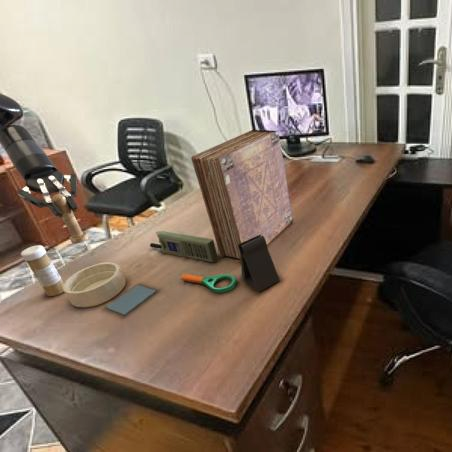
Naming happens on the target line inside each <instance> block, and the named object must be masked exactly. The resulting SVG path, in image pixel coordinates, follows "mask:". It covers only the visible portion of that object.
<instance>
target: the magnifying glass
mask: <svg viewBox="0 0 452 452" xmlns="http://www.w3.org/2000/svg"><path fill="white" fill-rule="evenodd" d="M227 279H228V280H230V281H231V282H230V284H228V285H227V286H224V287H220V288H218V287H215V286H214V285H215V284H216V283H217V282H219V281H222V280H227ZM181 280H182V281H185V282H190V283H196V284H201V285H204V286H206V288H208V289H209V290H210V291H212V292H213V293H215V294H223V293H227V292H230V291H232V290H233V289H235V287H236V286H237V281H236V280H237V279H236V277H235V276H234V275H232V274H228V273H224V274H216V275H210V276H201V275H196V274H189V273H184V274H183V275H182V276H181Z"/></svg>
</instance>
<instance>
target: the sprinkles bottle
mask: <svg viewBox="0 0 452 452" xmlns="http://www.w3.org/2000/svg"><path fill="white" fill-rule="evenodd" d="M44 247H45V246H43V245H40V244H37V245H33V246H30V247H27V248H25V249H24V250H22V251H21V252H20V256H21V257H22V259H23V261H25V262H26V264H27V265H28V267H29V268H30V270H31V271H32V273H33V274H34V276H35V278H36V280H37V282H38V283H39V285H40V286H41V287H42V288H43V290H44V292H45V293H46V295H47V296H48V297H55V296H58V295H61V294H62V293H63V292H64V290H63V285H64V283H65V281H63V279H62V277H61V275H60V274H59V272H58V270H57V268H56V267H55V265H54V264H53V262H52V260H51V259H50V257H49V256H48V254H47V250H46V249H45V248H44Z"/></svg>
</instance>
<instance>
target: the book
mask: <svg viewBox="0 0 452 452" xmlns="http://www.w3.org/2000/svg"><path fill="white" fill-rule="evenodd" d="M190 159H191V162H192V166H193V169H194V173H195V176H196V179H197V183H198V186H199V189H200V193H201V196H202V199H203V202H204V207H205V209H206V213H207V215H208V219H209V223H210V226H211V228H212V232H213V236H214V239H215V243H216V246H217V250H218V252H219V256H220V258H224V257H225V256H226V257H230V258H235V259H238V260H241V258H240V251H239V248H238V244H240V243H243V242H245V241H247V240H249V239H251V238H253V237H256V236H258V235H260V234H261V236H264V238H265V240H266V245H267V246H268V245H269V243H271V241H273V240H274V239H275V238H276V237H278V236H279V234H281V232H283V231H284V230H285V229H286V228H287V227H288V226H289V225H290V224H292V223H293V222H294V216H293V210H292V204H291V198H290V192H289V188H288V182H287V174H286V169H285V163H284V162H285V161H284V157H283V152H282V145H281V139H280V134H279V130H264V129H251V130H249V131H247V132H244V133H242V134H240V135H237V136H235V137H233V138H230V139H228V140H226V141H223V142H221V143H219V144H217V145H214V146H212V147H209V148H208V149H204V151H200V152H199V153H196V154H193V155H192V156H191V158H190ZM261 236H260V237H261Z"/></svg>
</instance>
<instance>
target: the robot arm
mask: <svg viewBox="0 0 452 452" xmlns="http://www.w3.org/2000/svg"><path fill="white" fill-rule="evenodd" d="M24 114H25V112H24V109H23V107H22V105H21V104H20V103H19V102H18V101H17V100H15V99H13V98H12V97H10V96H8V95H6V94H4V93H1V92H0V145H1V147H2V148H3V150H4V151H5V153H6V154H7V156H8V159H9V160H10V162H11V164H12V166H13V167H14V168H15V169H16V171H17V172H18V173H19V175H20V176H21V178H22V179H23V181H24V184H25V186H24V187H23V188H18V189H17V190H16V192H17V195H18V197H19V198H20V199H22V200H23V201H26V202H27V203H30V204H31V205H33V206H35V207H37V208H39V209H43V208H48V209H49V210H50V212H51V213H52V215H53V216H55V217H58V218H62V217H63V216H62V213H61V211H60V210H59V208H58V207H57V206H56V204H55V203H54V202H53V201H52V197H51V195H52V194H62V195H64V196H65V198H66V201H67V203H68V205H69V207H70V208H71V210H72V212H73V214H74V213H76V212H78V211H77V210H78V204H77V202H76V201H75V200H74V198H77V196H78V182H77V181H78V179H77V174H76V173H70V174H64V173H62V172H61V171H59V169H58V168H57V167H56V165H55V164H54V163H53V161H52V160H51V159H50V157H49V156H48V154H47V153H46V151H45V150H44V148H42V146H40V144H39V143H38V142H37V140H36V139H35V137H34V136H33V135H32V133H31V132H30V131H29V130H28V129H27V128H26V127H25V126H23V125H20V124H15V123H17V122H19V121H20V120H21V119H22V118H23V117H24V116H25V115H24ZM65 181H66V182H67V183H68V184H70V191H68V190H67V189H66V188H65V186H64V183H65ZM32 192H34V193H36V194H39V195H42V198H43V199H41V198H39V197H37V196H35V195H34V194H32Z"/></svg>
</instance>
